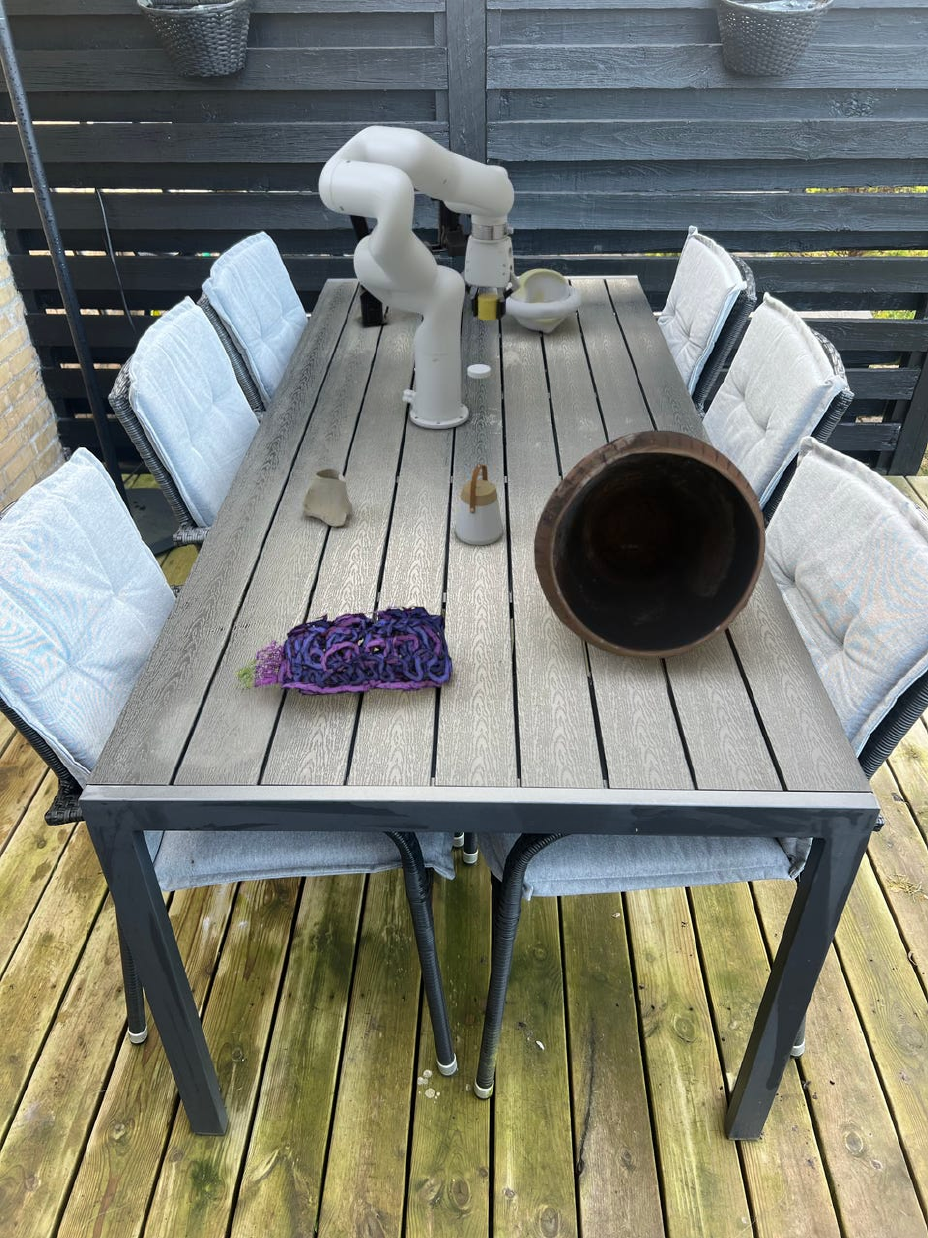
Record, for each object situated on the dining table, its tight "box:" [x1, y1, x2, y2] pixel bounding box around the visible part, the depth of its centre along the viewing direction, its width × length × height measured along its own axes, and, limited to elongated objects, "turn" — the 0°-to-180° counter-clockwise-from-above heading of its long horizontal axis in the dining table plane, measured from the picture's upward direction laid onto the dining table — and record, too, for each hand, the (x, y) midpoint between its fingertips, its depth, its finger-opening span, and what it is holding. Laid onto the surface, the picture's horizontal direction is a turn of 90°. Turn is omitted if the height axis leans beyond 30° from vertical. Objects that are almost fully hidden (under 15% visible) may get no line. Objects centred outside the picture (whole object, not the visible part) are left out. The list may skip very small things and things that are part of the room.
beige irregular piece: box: [301, 468, 353, 528], centre depth 164 cm, size 9×8×10 cm
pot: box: [533, 429, 767, 660], centre depth 139 cm, size 32×32×30 cm
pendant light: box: [455, 363, 503, 546], centre depth 153 cm, size 8×8×30 cm
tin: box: [477, 292, 499, 322], centre depth 206 cm, size 5×5×5 cm
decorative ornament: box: [235, 605, 454, 697], centre depth 129 cm, size 13×11×30 cm
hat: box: [496, 268, 583, 334], centre depth 236 cm, size 25×22×15 cm
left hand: (450, 281), depth 242 cm, fingers open, 9 cm apart
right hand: (488, 315), depth 207 cm, fingers closed on tin, 4 cm apart
